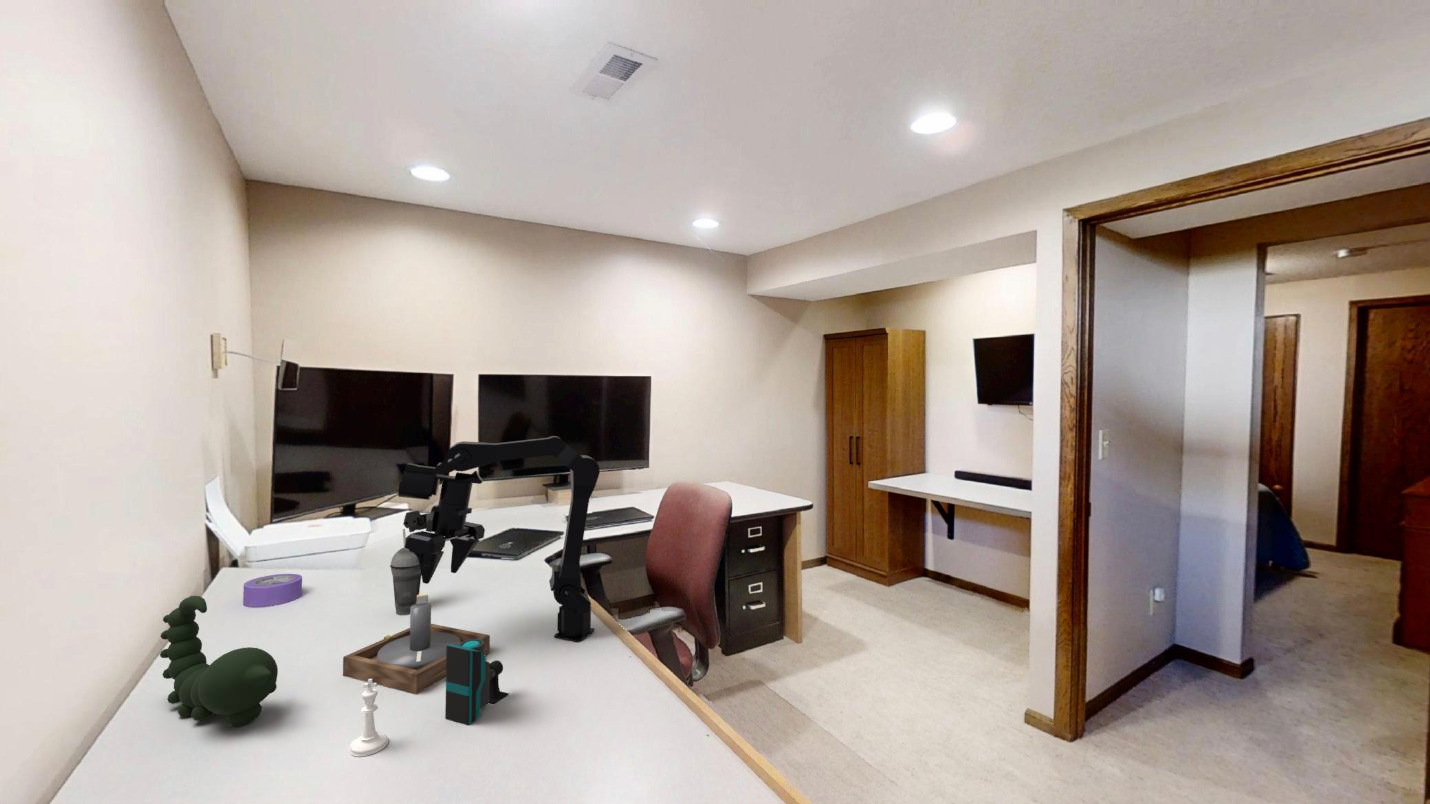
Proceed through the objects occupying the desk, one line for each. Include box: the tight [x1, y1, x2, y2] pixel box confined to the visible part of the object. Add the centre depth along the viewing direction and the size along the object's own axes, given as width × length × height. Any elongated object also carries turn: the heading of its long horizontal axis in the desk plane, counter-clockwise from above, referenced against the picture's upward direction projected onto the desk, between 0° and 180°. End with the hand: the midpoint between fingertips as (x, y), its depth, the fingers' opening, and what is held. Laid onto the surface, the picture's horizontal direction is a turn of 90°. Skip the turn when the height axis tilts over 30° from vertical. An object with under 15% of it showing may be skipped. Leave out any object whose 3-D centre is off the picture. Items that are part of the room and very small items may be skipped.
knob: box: [377, 593, 460, 670], centre depth 111 cm, size 14×14×10 cm
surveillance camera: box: [444, 639, 509, 726], centre depth 96 cm, size 6×12×10 cm
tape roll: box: [242, 573, 303, 609], centre depth 144 cm, size 12×12×5 cm
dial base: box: [342, 623, 491, 695], centre depth 111 cm, size 18×18×4 cm
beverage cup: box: [389, 528, 422, 616], centre depth 137 cm, size 7×7×20 cm
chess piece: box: [348, 679, 389, 758], centre depth 84 cm, size 5×5×10 cm
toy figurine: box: [159, 595, 279, 728], centre depth 92 cm, size 10×19×26 cm
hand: (440, 577), depth 116 cm, fingers open, 9 cm apart
